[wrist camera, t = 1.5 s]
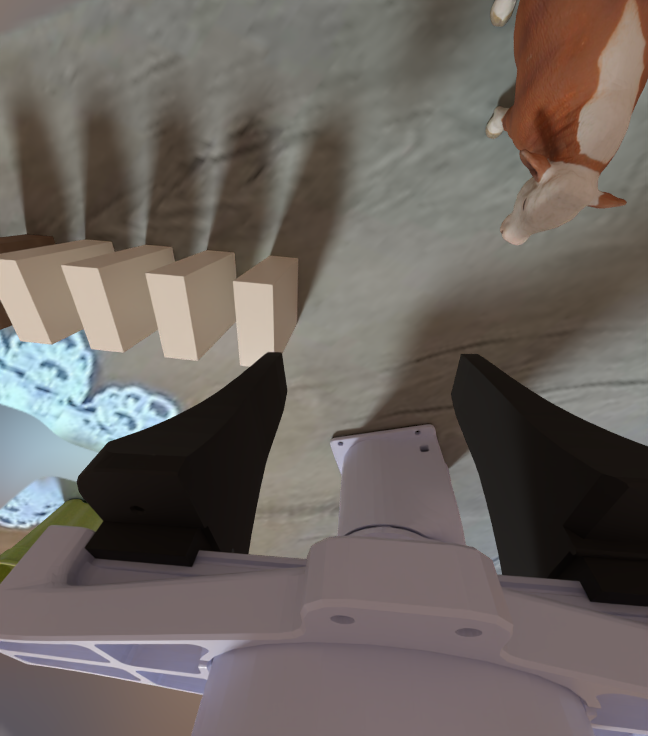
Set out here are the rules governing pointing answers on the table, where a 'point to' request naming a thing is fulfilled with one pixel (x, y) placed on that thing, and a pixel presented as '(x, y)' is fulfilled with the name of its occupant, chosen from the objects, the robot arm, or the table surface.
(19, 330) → the domino
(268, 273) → the domino
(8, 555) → the plant pot
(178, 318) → the domino
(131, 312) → the domino
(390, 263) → the table surface
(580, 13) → the bull figurine
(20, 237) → the domino
